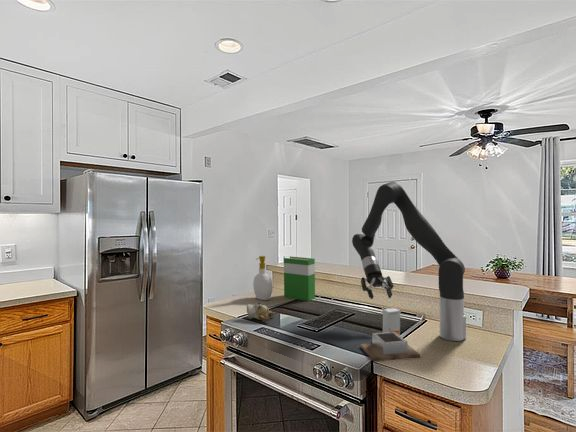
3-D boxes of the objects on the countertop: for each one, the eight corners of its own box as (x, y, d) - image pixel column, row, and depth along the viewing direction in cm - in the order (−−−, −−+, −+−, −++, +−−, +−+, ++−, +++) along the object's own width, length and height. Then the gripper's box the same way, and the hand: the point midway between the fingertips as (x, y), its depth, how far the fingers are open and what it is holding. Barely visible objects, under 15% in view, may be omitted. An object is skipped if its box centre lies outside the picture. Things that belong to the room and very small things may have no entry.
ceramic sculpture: (251, 297, 180) (278, 301, 176) (250, 314, 181) (277, 318, 176) (242, 303, 170) (271, 308, 166) (241, 321, 171) (270, 325, 166)
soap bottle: (248, 298, 212) (248, 255, 211) (259, 295, 218) (259, 254, 217) (265, 302, 202) (264, 258, 201) (276, 299, 208) (275, 256, 207)
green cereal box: (284, 296, 215) (283, 258, 214) (291, 294, 221) (290, 256, 220) (308, 301, 205) (308, 260, 204) (315, 298, 211) (314, 258, 210)
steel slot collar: (394, 342, 139) (394, 331, 139) (407, 353, 129) (407, 341, 129) (372, 344, 138) (372, 333, 137) (383, 355, 127) (383, 343, 127)
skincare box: (387, 340, 144) (387, 312, 144) (382, 336, 148) (382, 309, 148) (400, 339, 146) (400, 310, 145) (394, 335, 150) (394, 307, 150)
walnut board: (403, 343, 141) (403, 340, 141) (420, 357, 128) (420, 354, 128) (360, 346, 138) (360, 344, 138) (373, 361, 125) (373, 358, 125)
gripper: (359, 263, 164) (368, 294, 153) (387, 262, 166) (399, 292, 155) (355, 272, 169) (364, 302, 158) (383, 271, 171) (393, 301, 160)
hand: (381, 297), depth 157 cm, fingers open, 8 cm apart
